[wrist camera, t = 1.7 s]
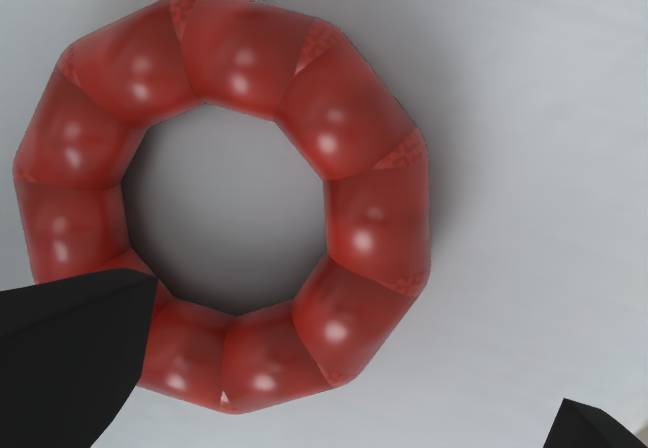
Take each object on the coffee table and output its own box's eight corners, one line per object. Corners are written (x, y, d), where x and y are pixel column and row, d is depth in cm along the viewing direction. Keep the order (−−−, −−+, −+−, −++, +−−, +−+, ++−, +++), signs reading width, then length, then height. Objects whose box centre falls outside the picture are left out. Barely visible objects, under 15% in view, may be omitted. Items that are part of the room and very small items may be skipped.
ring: (375, 423, 20) (368, 480, 17) (30, 317, 21) (-27, 355, 18) (490, 63, 17) (504, 65, 14) (72, -46, 18) (9, -63, 15)
